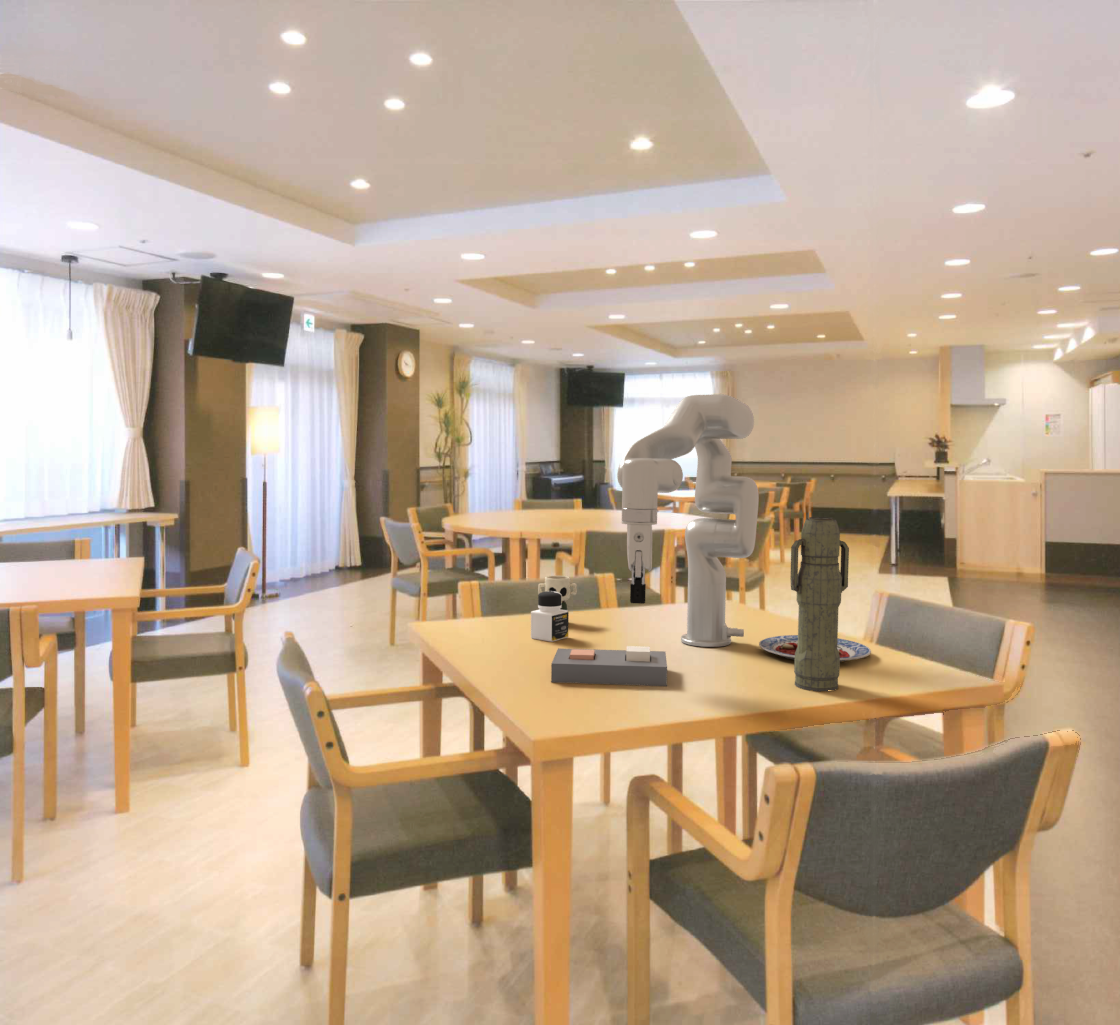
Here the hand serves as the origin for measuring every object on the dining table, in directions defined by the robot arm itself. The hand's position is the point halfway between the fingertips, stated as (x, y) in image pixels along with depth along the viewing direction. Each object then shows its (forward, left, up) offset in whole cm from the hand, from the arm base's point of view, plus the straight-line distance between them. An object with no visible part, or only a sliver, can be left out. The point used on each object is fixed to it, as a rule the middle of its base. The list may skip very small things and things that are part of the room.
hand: (637, 602), depth 184 cm
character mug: (+23, -56, -16) cm, 63 cm away
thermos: (-37, +3, -16) cm, 41 cm away
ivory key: (0, 0, -13) cm, 13 cm away
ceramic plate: (-42, -26, -17) cm, 52 cm away
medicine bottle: (+23, -36, -16) cm, 46 cm away
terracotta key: (+12, 0, -14) cm, 18 cm away
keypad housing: (+6, 0, -16) cm, 17 cm away
